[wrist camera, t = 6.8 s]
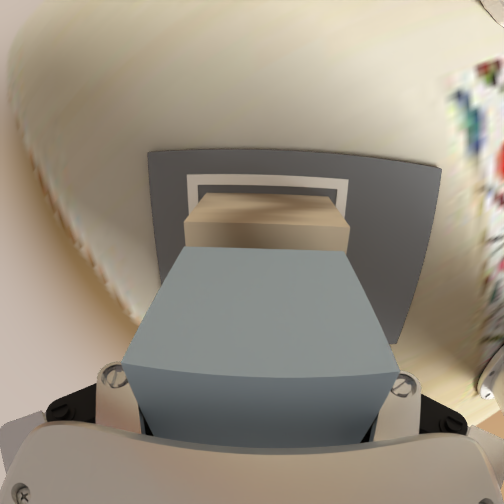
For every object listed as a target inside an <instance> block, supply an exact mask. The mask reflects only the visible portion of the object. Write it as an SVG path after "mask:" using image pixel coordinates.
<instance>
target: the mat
mask: <svg viewBox="0 0 504 504" xmlns="http://www.w3.org/2000/svg"><path fill="white" fill-rule="evenodd" d="M148 169H149V183H150V195H151V206H152V216H153V225H154V234H155V242H156V250H157V257H158V264H159V271H160V278H161V284H163V282H164V280H165V279H166V277H167V275H168V273H169V272H170V270H171V268H172V266H173V265H174V263H175V261H176V259H177V258H178V256H179V254H180V253H181V251H182V249H183V247H184V246H186V244H185V232H184V221H185V220H186V218H187V217H188V216H189V214H190V213H191V212H192V210H193V209H194V208H195V207H196V205H197V204H198V203H199V202H200V200H201V199H202V198H203V196H204V195H205V194H206V193H260V194H289V195H310V196H328V197H329V198H330V200H331V201H332V202H333V204H334V205H335V206H336V208H337V209H338V211H339V212H340V213H341V215H342V216H343V218H344V219H345V220H346V222H347V223H348V225H349V226H350V233H349V240H348V246H347V253H346V256H347V258H348V260H349V262H350V264H351V266H352V268H353V270H354V272H355V274H356V276H357V278H358V280H359V282H360V284H361V286H362V288H363V290H364V292H365V294H366V296H367V298H368V300H369V302H370V304H371V306H372V308H373V310H374V313H375V315H376V317H377V319H378V321H379V323H380V325H381V328H382V330H383V332H384V334H385V337H386V339H387V341H388V343H389V344H396V343H397V341H398V338H399V336H400V333H401V330H402V328H403V325H404V322H405V319H406V317H407V314H408V311H409V308H410V305H411V302H412V299H413V296H414V293H415V289H416V286H417V283H418V280H419V276H420V273H421V269H422V265H423V262H424V258H425V254H426V250H427V246H428V242H429V238H430V233H431V229H432V224H433V220H434V215H435V209H436V204H437V198H438V193H439V186H440V180H441V173H442V169H441V168H438V167H432V166H427V165H421V164H415V163H409V162H402V161H396V160H389V159H381V158H373V157H365V156H356V155H346V154H336V153H324V152H310V151H293V150H268V149H198V150H173V151H156V152H148Z"/></svg>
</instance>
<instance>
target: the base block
mask: <svg viewBox="0 0 504 504" xmlns="http://www.w3.org/2000/svg"><path fill="white" fill-rule="evenodd" d="M184 232H185V244H186V246H187V247H223V248H257V249H290V250H322V251H344V252H345V254H346V253H347V246H348V240H349V233H350V226H349V225H348V223H347V222H346V220H345V219H344V218H343V216H342V215H341V213H340V212H339V211H338V209H337V208H336V206H335V205H334V204H333V202H332V201H331V200H330V198H329V197H328V196H310V195H289V194H260V193H206V194H205V195H204V196H203V198H202V199H201V200H200V202H199V203H198V204H197V205H196V207H195V208H194V209H193V210H192V212H191V213H190V214H189V216H188V217H187V218H186V220H185V221H184Z"/></svg>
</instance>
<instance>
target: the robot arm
mask: <svg viewBox="0 0 504 504" xmlns="http://www.w3.org/2000/svg"><path fill="white" fill-rule="evenodd" d="M477 390H478V393H479V394H480V396H481V398H483V399H493V398H495V399H496V401H497V403H498V405H499V407H500V409H501V411H502V412H503V414H504V345H503V346H502V347H501V348H500V349H499V351H498V352H497V353H496V354H495V355H494V357H493V358H492V359H491V361H490V362H489V363H488V365H487V366H486V368H485V369H484V371H483V373H482V375H481V377H480V379H479V382H478V386H477ZM0 448H1V453H2V458H3V462H4V466H5V470H6V474H7V475H6V477H5V480H4V482H3V485H2V487H1V490H0V504H504V502H503V498H502V494H501V491H500V489H501V486H502V483H503V480H504V439H502V438H500V437H498V436H495V435H493V434H491V433H489V432H486V431H484V430H482V429H480V428H478V427H476V426H474V425H472V426H471V427H468V426H467V422H466V420H465V418H464V417H463V416H462V415H461V414H459V413H458V412H456V411H454V410H452V409H450V408H448V407H446V406H444V405H442V404H440V403H438V402H436V401H434V400H432V399H430V398H429V397H427V396H425V395H423V394H421V385H420V382H419V380H418V379H417V378H416V377H415V376H414V375H413V374H411V373H409V372H406V371H400V373H399V375H398V377H397V379H396V381H395V383H394V385H393V387H392V389H391V391H390V393H389V394H388V396H387V398H386V400H385V402H384V404H383V405H382V407H381V409H380V411H379V413H378V414H377V416H376V418H375V419H374V421H373V423H372V424H371V426H370V428H369V429H368V431H367V433H366V434H365V436H364V437H363V439H362V441H361V442H360V443H358V444H349V445H339V446H327V447H310V448H248V447H231V446H219V445H208V444H199V443H191V442H184V441H177V440H171V439H165V438H159V437H154V435H153V433H152V431H151V429H150V427H149V425H148V423H147V421H146V419H145V417H144V415H143V413H142V411H141V409H140V407H139V405H138V402H137V400H136V398H135V396H134V394H133V391H132V389H131V387H130V384H129V382H128V379H127V377H126V375H125V372H124V370H123V367H122V365H121V362H112V363H109V364H107V365H105V366H104V367H103V368H102V369H101V370H100V371H99V373H98V376H97V383H95V384H93V385H91V386H88V387H86V388H84V389H81V390H79V391H76V392H74V393H72V394H69V395H67V396H64V397H62V398H59V399H57V400H55V401H54V402H52V403H51V404H50V405H49V407H48V409H47V410H46V412H45V413H43V412H42V411H39V412H36V413H33V414H31V415H28V416H25V417H22V418H19V419H16V420H14V421H10V422H8V423H6V424H4V425H3V426H2V427H1V428H0Z"/></svg>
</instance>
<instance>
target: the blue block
mask: <svg viewBox="0 0 504 504" xmlns="http://www.w3.org/2000/svg"><path fill="white" fill-rule="evenodd" d="M121 365H122V367H123V370H124V372H125V375H126V377H127V379H128V382H129V384H130V387H131V389H132V391H133V394H134V396H135V398H136V400H137V402H138V405H139V407H140V409H141V411H142V413H143V415H144V417H145V419H146V421H147V423H148V425H149V427H150V429H151V431H152V433H153V435H154V437H159V438H165V439H171V440H177V441H184V442H191V443H199V444H208V445H219V446H231V447H248V448H310V447H327V446H339V445H349V444H358V443H360V442H361V441H362V439H363V437H364V436H365V434H366V433H367V431H368V429H369V428H370V426H371V424H372V423H373V421H374V419H375V418H376V416H377V414H378V413H379V411H380V409H381V407H382V405H383V404H384V402H385V400H386V398H387V396H388V394H389V393H390V391H391V389H392V387H393V385H394V383H395V381H396V379H397V377H398V375H399V373H400V369H399V367H398V364H397V362H396V360H395V357H394V355H393V353H392V350H391V348H390V346H389V343H388V341H387V339H386V337H385V334H384V332H383V330H382V328H381V325H380V323H379V321H378V319H377V317H376V315H375V313H374V310H373V308H372V306H371V304H370V302H369V300H368V298H367V296H366V294H365V292H364V290H363V288H362V286H361V284H360V282H359V280H358V278H357V276H356V274H355V272H354V270H353V268H352V266H351V264H350V262H349V260H348V258H347V256H346V254H345V252H344V251H322V250H290V249H257V248H223V247H187V246H184V247H183V249H182V251H181V253H180V254H179V256H178V258H177V259H176V261H175V263H174V265H173V266H172V268H171V270H170V272H169V273H168V275H167V277H166V279H165V280H164V282H163V284H162V286H161V287H160V289H159V291H158V293H157V295H156V296H155V298H154V300H153V302H152V304H151V305H150V307H149V309H148V311H147V313H146V315H145V317H144V318H143V320H142V322H141V324H140V326H139V328H138V330H137V332H136V334H135V336H134V338H133V340H132V341H131V344H130V345H129V347H128V349H127V351H126V353H125V355H124V357H123V359H122V361H121Z"/></svg>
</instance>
